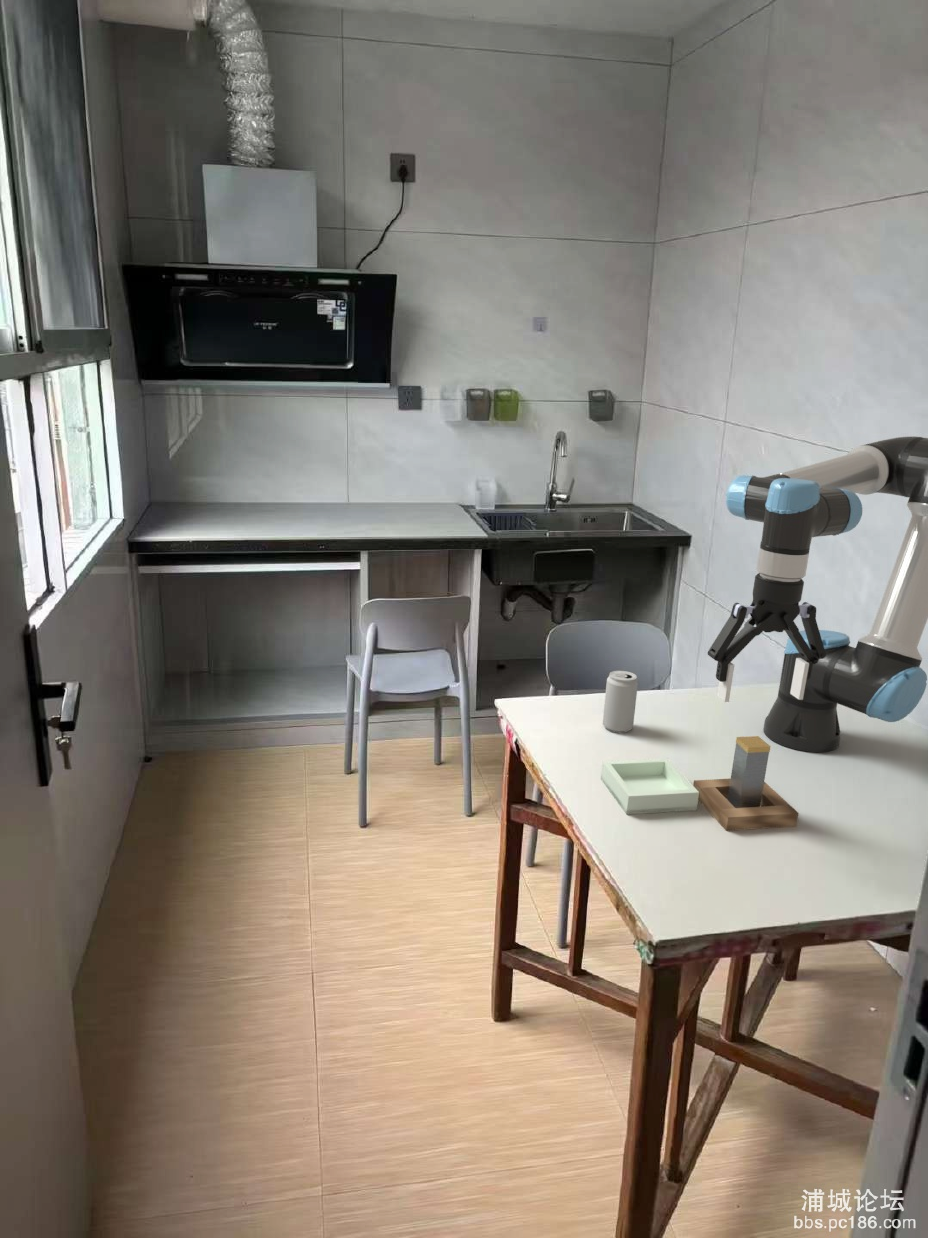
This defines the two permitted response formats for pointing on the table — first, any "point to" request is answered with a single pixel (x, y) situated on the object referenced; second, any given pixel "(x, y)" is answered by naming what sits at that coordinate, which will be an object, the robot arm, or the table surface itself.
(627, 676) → the beverage can
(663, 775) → the bin
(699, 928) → the table surface
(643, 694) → the table surface
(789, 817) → the socket block
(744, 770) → the strut
